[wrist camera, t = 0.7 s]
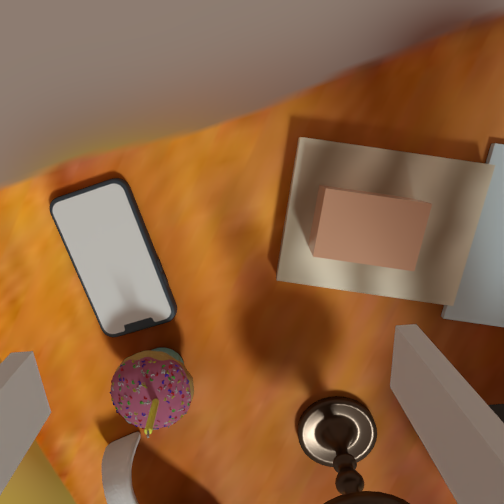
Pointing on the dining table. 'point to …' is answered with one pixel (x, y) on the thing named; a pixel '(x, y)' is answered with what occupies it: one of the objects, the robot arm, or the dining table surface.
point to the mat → (485, 258)
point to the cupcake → (152, 389)
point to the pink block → (368, 227)
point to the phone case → (114, 257)
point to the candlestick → (342, 446)
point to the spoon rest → (119, 470)
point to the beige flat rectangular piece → (391, 183)
